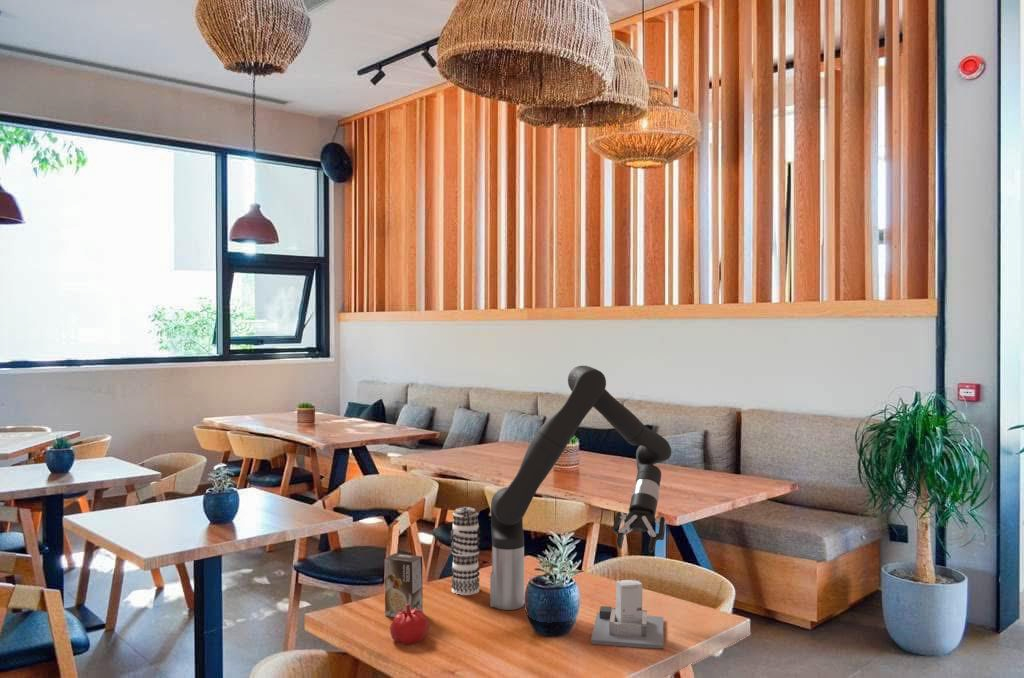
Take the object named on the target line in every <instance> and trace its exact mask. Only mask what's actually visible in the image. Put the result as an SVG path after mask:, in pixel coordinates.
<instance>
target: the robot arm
mask: <svg viewBox="0 0 1024 678" xmlns="http://www.w3.org/2000/svg"><path fill="white" fill-rule="evenodd" d="M606 380H607V379H606V376H605V374H604V373H603V372H602V371H601V370H598V369H597V368H594V367H592V366H589V365H578V366H575V367H574V368H572V369H571V370H570V371H569V374H568V377H567V384H568V387H569V389H570V391H571V393H570V394H569V396H568V398H567V399H566V401H565V402H564V404H563V405H562V407H561V408H560V409H558V410H557V412H555V413H554V414H553V415H552V416H551V417H549V418H548V419H547V420H546V421H545V422H544V423H543V424H542V425H541V426H540V428H539V429H538V431H537V432H536V434H535V435H534V437H533V438H532V440H531V441H530V443H529V445H528V446H527V449H526V452H525V454H524V456H523V458H522V462H521V464H520V467H519V469H518V472H517V473H516V475H515V477H514V478H513V480H512V481H511V482H510V484H509V485H508V486H507V487H503V488H500V489H498V490H497V491H496V492H495V493H494V494H493V496H492V498H491V503H490V528H491V529H490V530H491V531H490V533H491V562H492V563H491V572H490V576H489V577H490V578H489V579H490V580H489V582H490V584H489V585H490V589H489V590H490V592H489V593H490V594H489V595H490V596H489V597H490V598H489V599H490V601H489V602H490V603H489V605H490V608H495V609H498V610H505V611H509V610H510V611H511V610H518V609H521V608H522V607H524V605H525V534H524V526H523V525H524V524H523V523H524V522H523V521H524V520H523V518H524V516H525V514H527V513H526V512H527V510H528V509H529V507H530V504H531V502H532V500H533V499H534V497H535V495H536V493H537V492H538V489H539V487H540V486H541V484H542V483H543V482H544V480H545V479H546V477H547V476H548V475H549V473H550V472H551V470H552V469H553V467H554V466H555V464H556V463H557V462H558V460H559V459H560V457H561V456H562V454H563V453H564V451H565V449H566V448H567V447H568V444H569V443H570V441H571V439H572V438H573V437H574V435H575V433H576V431H577V430H578V428H579V427H580V425H581V423H582V422H583V420H584V419H585V418H586V416H587V415H588V413H589V412H590V411H591V410H592V408H594V409H595V410H597V412H598V413H600V415H601V416H602V417H604V419H605V420H606V421H607V422H608V423H609V424H610V425H611V426H612V427H613V429H614V430H615V431H617V433H618V434H619V435H621V436H622V438H623V439H624V440H625V441H627V443H628V444H629V445H631V446H638V447H637V449H636V452H635V459H636V469H637V474H636V479H635V483H634V485H633V489H632V494H631V499H630V504H629V508H628V513H627V514H624V513H621V511H617V512H616V514H615V519H614V522H613V525H612V532H613V534H614V535H617V538H616V546H617V547H618V549H620V550H621V549H623V543H624V539H625V537H624V536H626V535H627V534H629V533H630V532H632V531H634V532H641V533H646V532H647V533H648V535H649V536H650V539H649V543H648V552H649V553H651V554H652V553H653V552H655V550H656V546H657V541H659V540H660V541H664V539H665V533H666V532H665V531H666V520H665V517H664V516H661V517H660V518H659V517H658V518H657V517H656V514H657V513H656V511H657V507H658V503H659V500H660V499H659V495H660V485H661V481H662V480H661V479H662V471H661V469H660V468H659V467H658V466H656V464H659V463H662V462H665V461H668V460H669V459H670V458H671V456H672V448H671V445H670V443H669V442H668V440H667V439H665V437H664V436H662V435H660V434H659V433H657V432H655V431H654V430H652V429H650V428H649V427H646V426H645V425H644V424H643V422H642V421H641V420H640V419H639V418H638V417H637V416H636V415H635V414H634V413H633V412H632V411H630V410H629V409H628V408H627V407H626V406H625V405H624V404H622V403H621V402H619V401H618V400H617V399H616V398H615V397H614V396H613V395H611V393H610V392H609V391H608V390H607V389H606V387H607V381H606ZM624 520H626V522H625V523H624V524H623V526H621V523H623V522H624ZM655 524H657V526H658V532H655V530H654V529H653V526H654V525H655Z"/></svg>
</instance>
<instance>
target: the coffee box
mask: <svg viewBox="0 0 1024 678" xmlns="http://www.w3.org/2000/svg"><path fill="white" fill-rule="evenodd" d="M423 592H424V591H423V556H421V555H415V554H414V555H413V554H405V553H396V552H395V553H393V554H391V555H389V556H388V557H386V558H384V605H385V606H384V609H385V610H384V614H385V616H386V617H390V618H395V617H396V615H397V614H398V613H400V612H401V611H396V610H398V609H401V610H403V611H407V607H406V605H407V604H410V610H414V609H415V608H420V609H416V610H420V611H421V612H423V613H424V610H423V609H424V607H423V606H424V604H423V603H424V601H423V599H424V598H423V594H424V593H423Z"/></svg>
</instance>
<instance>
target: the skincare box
mask: <svg viewBox="0 0 1024 678" xmlns="http://www.w3.org/2000/svg"><path fill="white" fill-rule="evenodd" d="M615 608H616V622H624V623H638V624H642V610H643V583H642V582H640V581H639V580H637V579H623V580H622V579H621V580H615Z"/></svg>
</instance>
